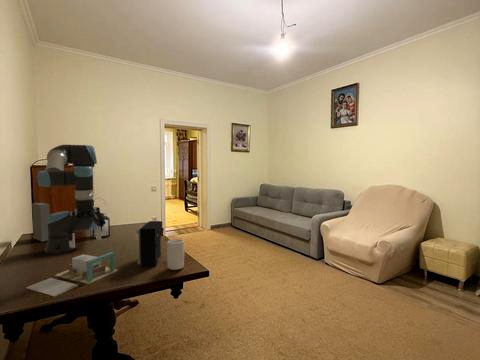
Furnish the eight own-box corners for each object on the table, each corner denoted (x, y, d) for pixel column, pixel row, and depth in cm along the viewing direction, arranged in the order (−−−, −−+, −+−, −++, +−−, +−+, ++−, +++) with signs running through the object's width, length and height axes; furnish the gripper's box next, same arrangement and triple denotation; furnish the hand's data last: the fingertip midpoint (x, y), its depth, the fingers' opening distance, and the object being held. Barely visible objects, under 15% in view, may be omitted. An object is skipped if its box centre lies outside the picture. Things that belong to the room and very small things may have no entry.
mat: (25, 289, 109) (25, 287, 109) (51, 279, 118) (50, 277, 118) (54, 297, 102) (53, 295, 102) (78, 286, 111) (78, 284, 111)
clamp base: (54, 276, 121) (54, 267, 121) (86, 264, 136) (86, 256, 136) (87, 284, 113) (87, 275, 113) (117, 270, 128) (117, 262, 128)
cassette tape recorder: (52, 239, 180) (50, 204, 178) (41, 241, 175) (40, 205, 173) (43, 236, 187) (42, 202, 186) (33, 238, 182) (31, 203, 181)
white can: (175, 273, 125) (175, 244, 124) (163, 269, 129) (163, 241, 128) (187, 267, 132) (187, 240, 131) (176, 264, 136) (175, 237, 135)
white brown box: (71, 272, 124) (71, 258, 124) (83, 267, 130) (83, 254, 129) (91, 276, 119) (90, 262, 119) (102, 271, 125) (101, 257, 125)
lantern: (110, 236, 189) (109, 198, 188) (92, 238, 183) (91, 199, 181) (107, 233, 198) (106, 196, 197) (90, 235, 191) (89, 197, 190)
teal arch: (87, 280, 115) (86, 261, 115) (111, 269, 127) (111, 251, 127) (90, 281, 114) (89, 261, 114) (114, 269, 127) (114, 252, 126)
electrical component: (146, 255, 150) (145, 221, 148) (164, 254, 151) (163, 220, 149) (136, 267, 132) (135, 228, 131) (157, 266, 133) (156, 228, 132)
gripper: (63, 202, 109) (65, 252, 111) (112, 196, 133) (113, 237, 134) (51, 202, 112) (53, 250, 113) (101, 195, 135) (103, 235, 137)
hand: (86, 243), depth 124 cm, fingers open, 13 cm apart
